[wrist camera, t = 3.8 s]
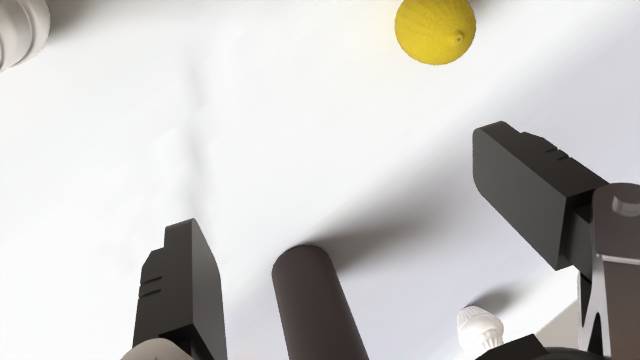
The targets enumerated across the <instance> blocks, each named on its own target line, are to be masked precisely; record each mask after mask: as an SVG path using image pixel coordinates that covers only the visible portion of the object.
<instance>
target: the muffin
mask: <svg viewBox="0 0 640 360" xmlns="http://www.w3.org/2000/svg"><path fill="white" fill-rule="evenodd" d="M503 331H504V326H503V323H502V322H501V320H500V319H499V318H497V317H496V316H494V315H493V314H492V313H490V312H488V311H485V310H483V309H481V308H479V307H477V306H473V305H472V306H468V307H466V308H464V309H462V310H461V311H460V312H459V314H458V315H457V333H458V337H459V342H460V345H461V346H462V347H463V348H464V349H465V350H467V351H471V352H474V353H475V354H478V355H479V356H481V355H482V354H484V353H485V352H486V351H488V350H489V349H492V348H495V347H497V346H500V345H503V344H504V342H503V341H502V340H503V339H502V335H503Z"/></svg>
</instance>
